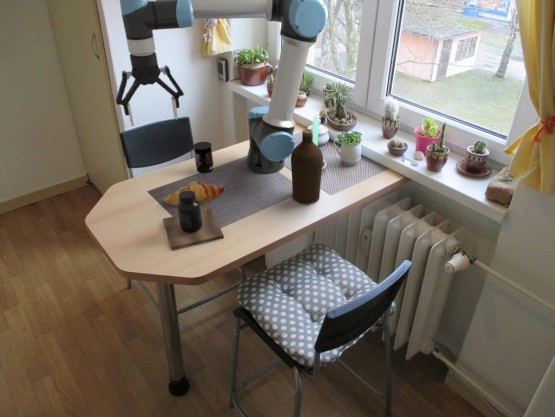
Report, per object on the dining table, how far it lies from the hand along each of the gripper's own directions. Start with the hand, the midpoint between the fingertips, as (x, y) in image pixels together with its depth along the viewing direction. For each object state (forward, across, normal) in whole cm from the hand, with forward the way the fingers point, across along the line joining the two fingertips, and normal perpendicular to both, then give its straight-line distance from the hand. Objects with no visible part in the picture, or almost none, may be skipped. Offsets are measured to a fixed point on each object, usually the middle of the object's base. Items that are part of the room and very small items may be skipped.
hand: (154, 121), depth 145 cm
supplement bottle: (+28, -4, +22) cm, 36 cm away
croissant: (+29, -9, +4) cm, 31 cm away
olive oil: (+29, -45, +18) cm, 56 cm away
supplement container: (+29, -17, -15) cm, 37 cm away
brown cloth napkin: (+29, -4, +22) cm, 36 cm away
